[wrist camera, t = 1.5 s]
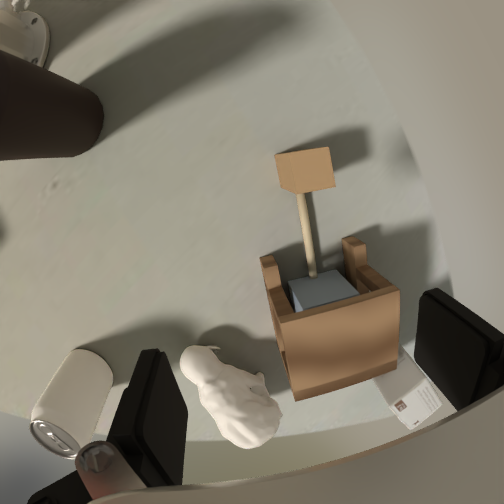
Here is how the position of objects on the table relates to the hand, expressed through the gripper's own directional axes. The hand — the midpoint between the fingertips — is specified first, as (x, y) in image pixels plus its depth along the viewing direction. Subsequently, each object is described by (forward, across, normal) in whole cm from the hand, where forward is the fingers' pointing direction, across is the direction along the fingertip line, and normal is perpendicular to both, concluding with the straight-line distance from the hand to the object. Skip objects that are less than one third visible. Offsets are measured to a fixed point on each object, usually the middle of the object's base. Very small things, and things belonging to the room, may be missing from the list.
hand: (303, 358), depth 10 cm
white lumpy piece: (+20, +6, +15) cm, 25 cm away
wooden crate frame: (+19, -5, +7) cm, 21 cm away
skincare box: (+20, -11, +15) cm, 27 cm away
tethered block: (+19, -5, +2) cm, 20 cm away
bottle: (+19, +15, -14) cm, 28 cm away
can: (+19, +22, +12) cm, 32 cm away
